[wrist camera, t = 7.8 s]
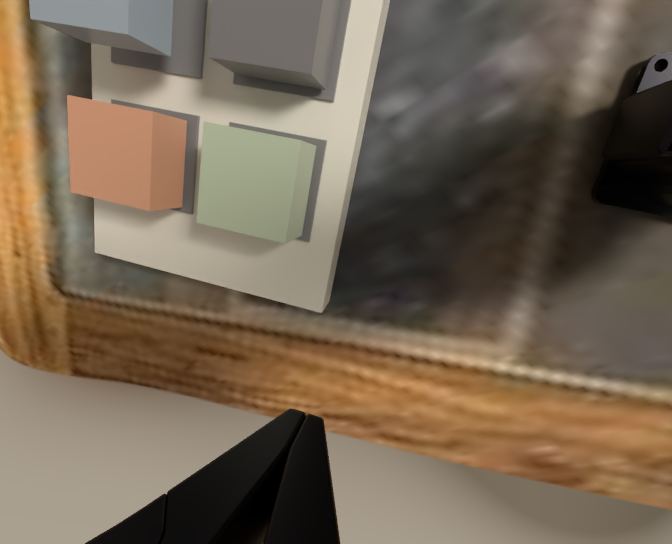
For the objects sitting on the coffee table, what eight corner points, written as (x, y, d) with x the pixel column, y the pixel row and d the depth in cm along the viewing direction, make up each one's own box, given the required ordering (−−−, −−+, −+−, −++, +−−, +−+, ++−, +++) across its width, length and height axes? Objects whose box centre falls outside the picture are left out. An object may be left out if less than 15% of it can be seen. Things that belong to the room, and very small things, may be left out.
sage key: (316, 145, 17) (301, 140, 14) (301, 235, 18) (285, 243, 16) (231, 129, 17) (203, 121, 15) (223, 217, 19) (196, 222, 16)
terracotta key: (187, 120, 18) (152, 111, 15) (182, 207, 19) (149, 211, 17) (111, 105, 18) (67, 94, 16) (111, 190, 20) (70, 191, 17)
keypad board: (410, -101, 16) (410, -145, 13) (329, 301, 21) (320, 314, 19) (121, -126, 18) (83, -167, 16) (120, 246, 23) (92, 253, 21)
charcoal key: (344, -26, 15) (332, -66, 12) (325, 89, 16) (311, 74, 14) (247, -38, 15) (217, -78, 13) (236, 74, 17) (208, 56, 14)
